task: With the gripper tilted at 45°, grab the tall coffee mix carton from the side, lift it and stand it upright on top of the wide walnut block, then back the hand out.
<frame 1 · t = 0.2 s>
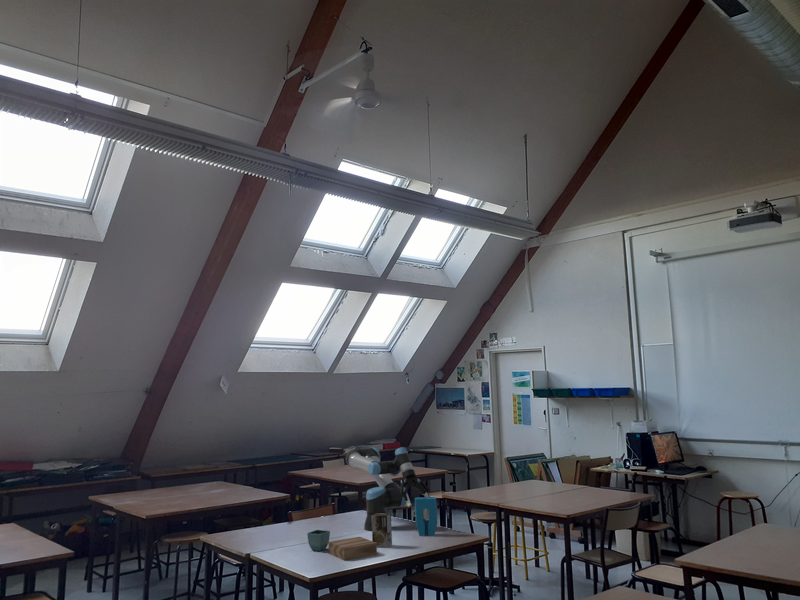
hand: (419, 504, 341), 16 cm above the table, tool tilted 35°, fingers open, 13 cm apart
block: (426, 535, 333), on the table
coffee box: (382, 546, 310), on the table
flower pot: (318, 550, 307), on the table
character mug: (421, 530, 347), on the table
walnut block: (352, 554, 296), on the table
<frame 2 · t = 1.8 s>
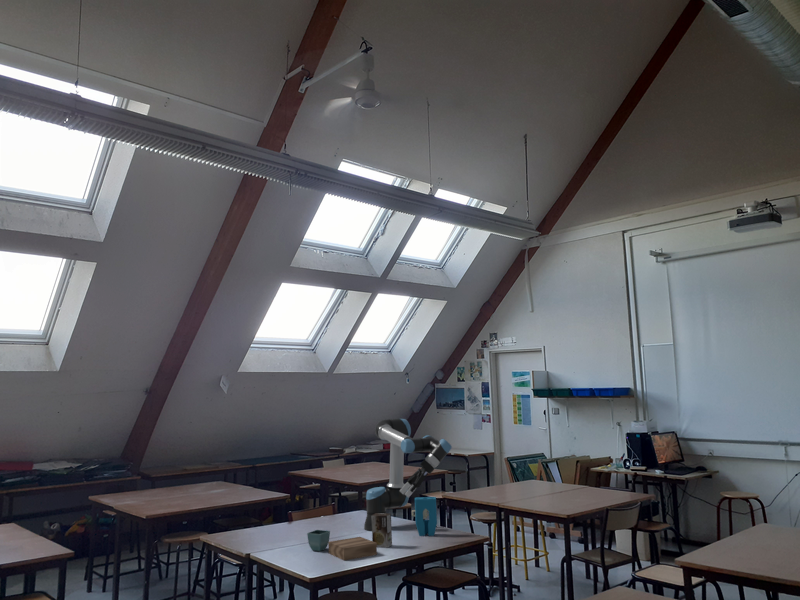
hand: (403, 494, 317), 25 cm above the table, tool tilted 45°, fingers open, 13 cm apart
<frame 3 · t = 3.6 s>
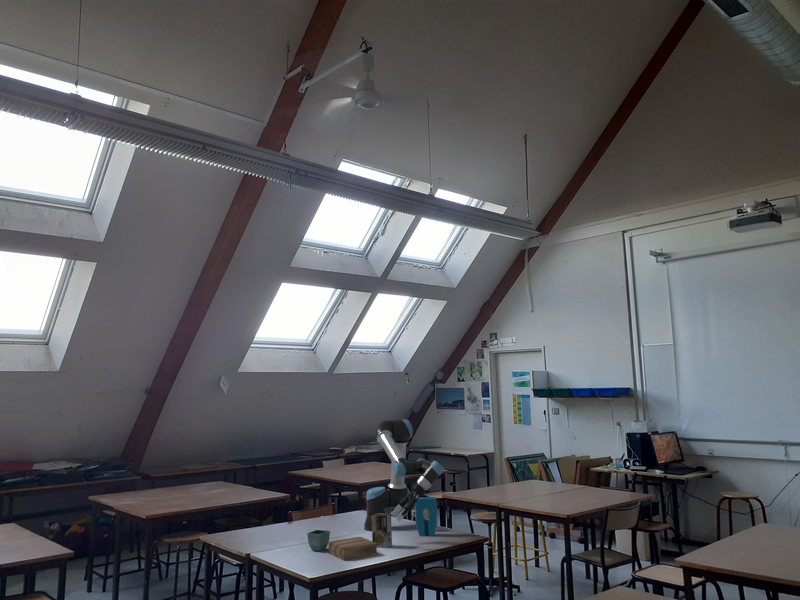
hand: (395, 517, 313), 14 cm above the table, tool tilted 45°, fingers open, 13 cm apart
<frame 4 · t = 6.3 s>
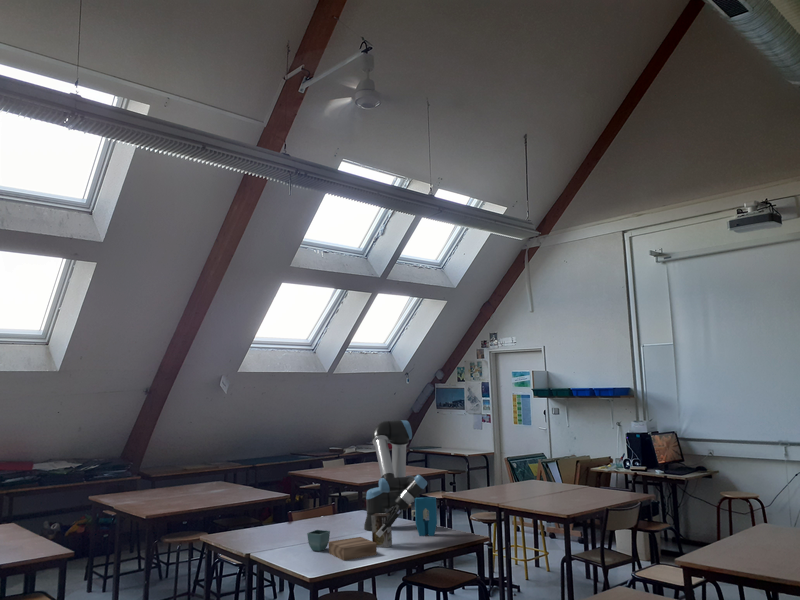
hand: (376, 533, 311), 6 cm above the table, tool tilted 45°, fingers closed on coffee box, 10 cm apart
coffee box: (382, 546, 310), on the table, touching gripper
everything else where it was.
when the fingers open (14 cm above the table, at t = 12.5 s): coffee box drops 2 cm, resting on walnut block.
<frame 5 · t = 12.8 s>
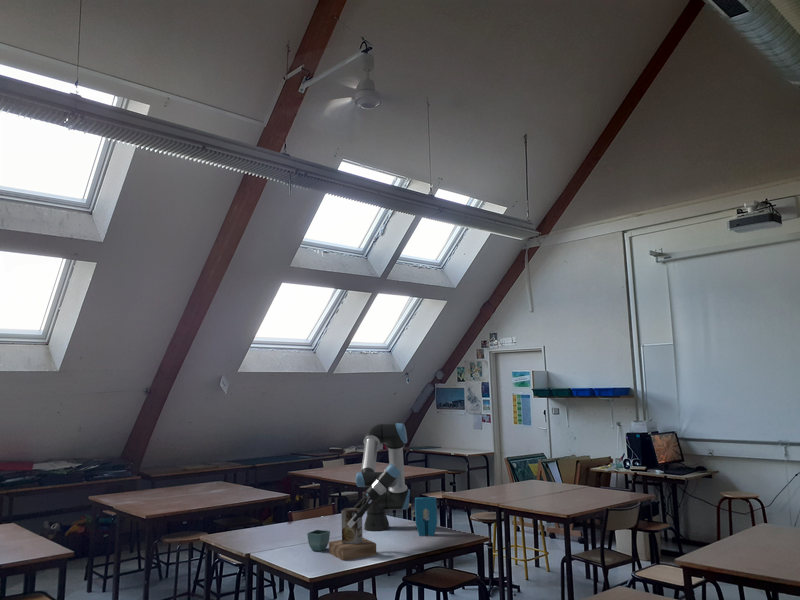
hand: (347, 523, 298), 15 cm above the table, tool tilted 45°, fingers open, 13 cm apart
coffee box: (352, 542, 297), point 5 cm above the table, touching walnut block
walnut block: (352, 555, 296), on the table, touching coffee box
everything else where it was.
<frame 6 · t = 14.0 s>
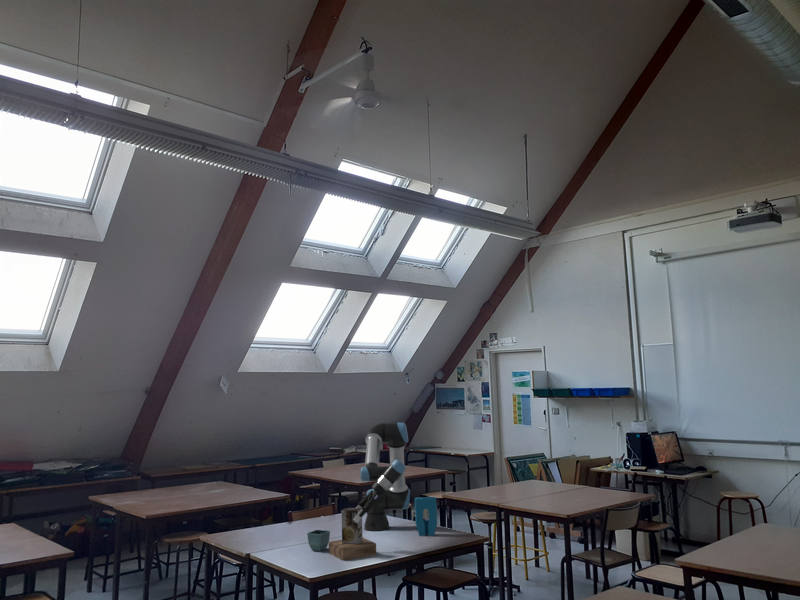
hand: (353, 518, 299), 17 cm above the table, tool tilted 45°, fingers open, 13 cm apart
nothing on the table moved.
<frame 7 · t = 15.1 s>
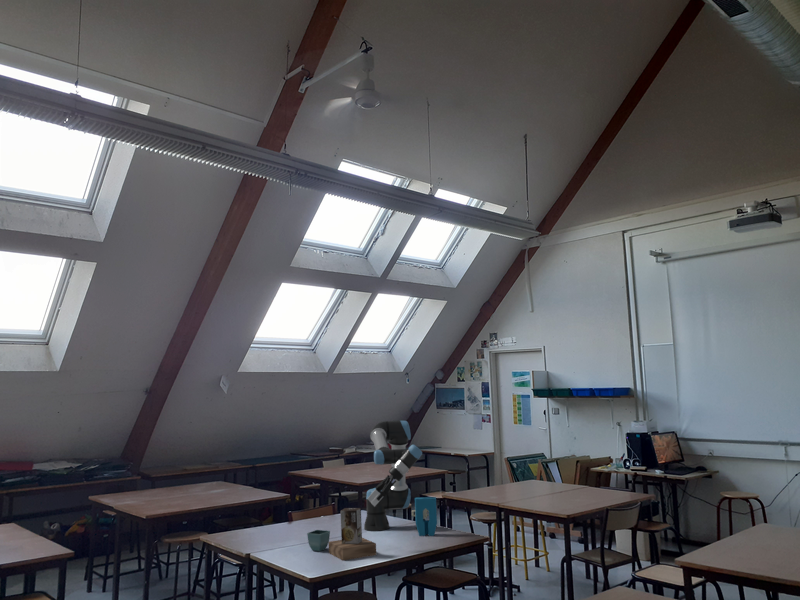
hand: (370, 502, 302), 24 cm above the table, tool tilted 45°, fingers open, 13 cm apart
coffee box: (351, 542, 297), point 5 cm above the table
walnut block: (352, 555, 296), on the table
everything else where it was.
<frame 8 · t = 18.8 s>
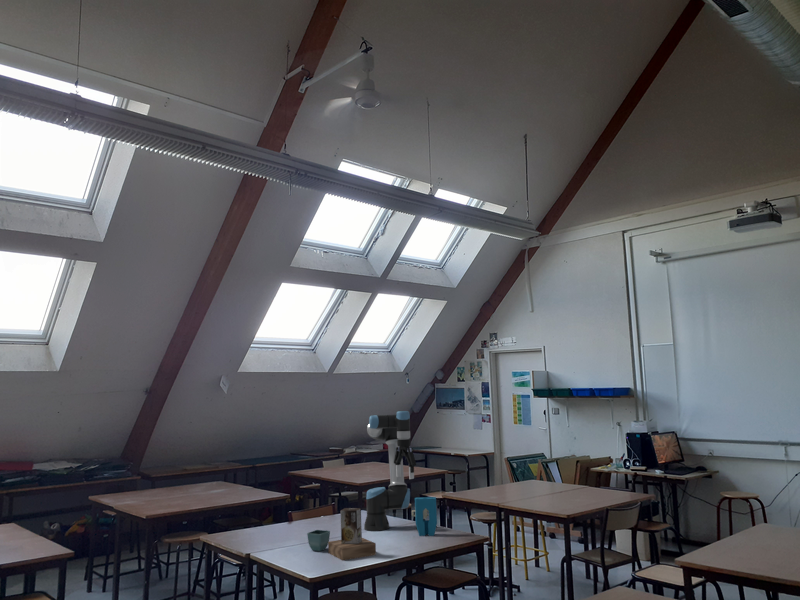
hand: (405, 477, 329), 33 cm above the table, tool pointing down, fingers open, 13 cm apart
coffee box: (351, 542, 297), point 5 cm above the table, touching walnut block
walnut block: (351, 555, 296), on the table, touching coffee box
everything else where it was.
at the end: coffee box inside the target area on the walnut block (0.4 cm from its centre), point 5.8 cm above the walnut block's base; coffee box tilted 0°; the gripper is holding nothing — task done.
